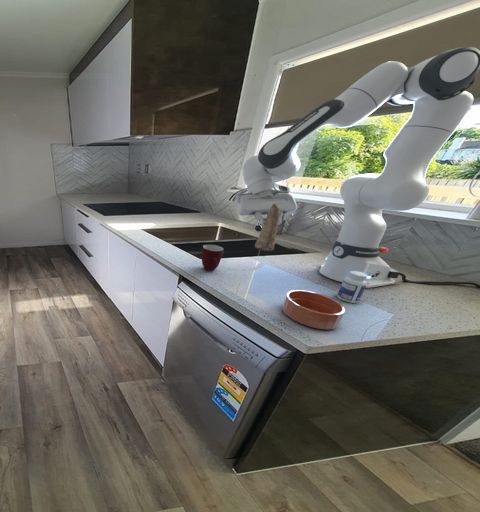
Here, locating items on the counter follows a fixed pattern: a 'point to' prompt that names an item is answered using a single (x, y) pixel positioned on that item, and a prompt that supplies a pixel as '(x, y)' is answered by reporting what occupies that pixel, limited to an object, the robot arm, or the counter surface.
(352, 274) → the pill bottle
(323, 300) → the bowl
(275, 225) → the brown tapered cone
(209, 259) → the mug
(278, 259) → the counter surface
